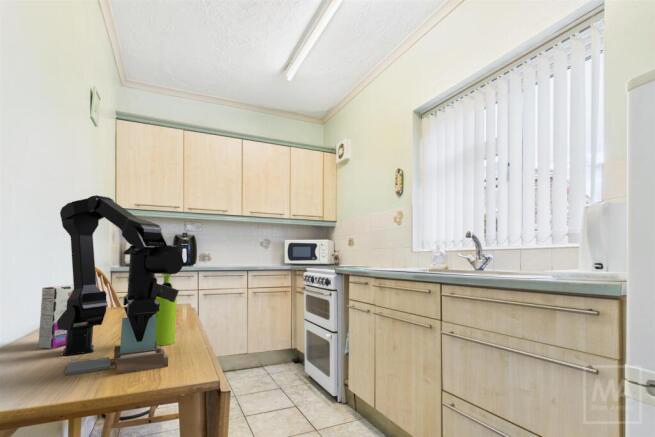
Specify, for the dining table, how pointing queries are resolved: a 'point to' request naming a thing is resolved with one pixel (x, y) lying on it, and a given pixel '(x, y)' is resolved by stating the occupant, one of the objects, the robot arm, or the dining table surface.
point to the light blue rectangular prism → (130, 341)
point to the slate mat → (87, 366)
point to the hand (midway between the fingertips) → (138, 338)
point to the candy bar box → (53, 316)
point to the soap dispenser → (165, 319)
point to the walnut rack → (140, 360)
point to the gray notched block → (137, 354)
